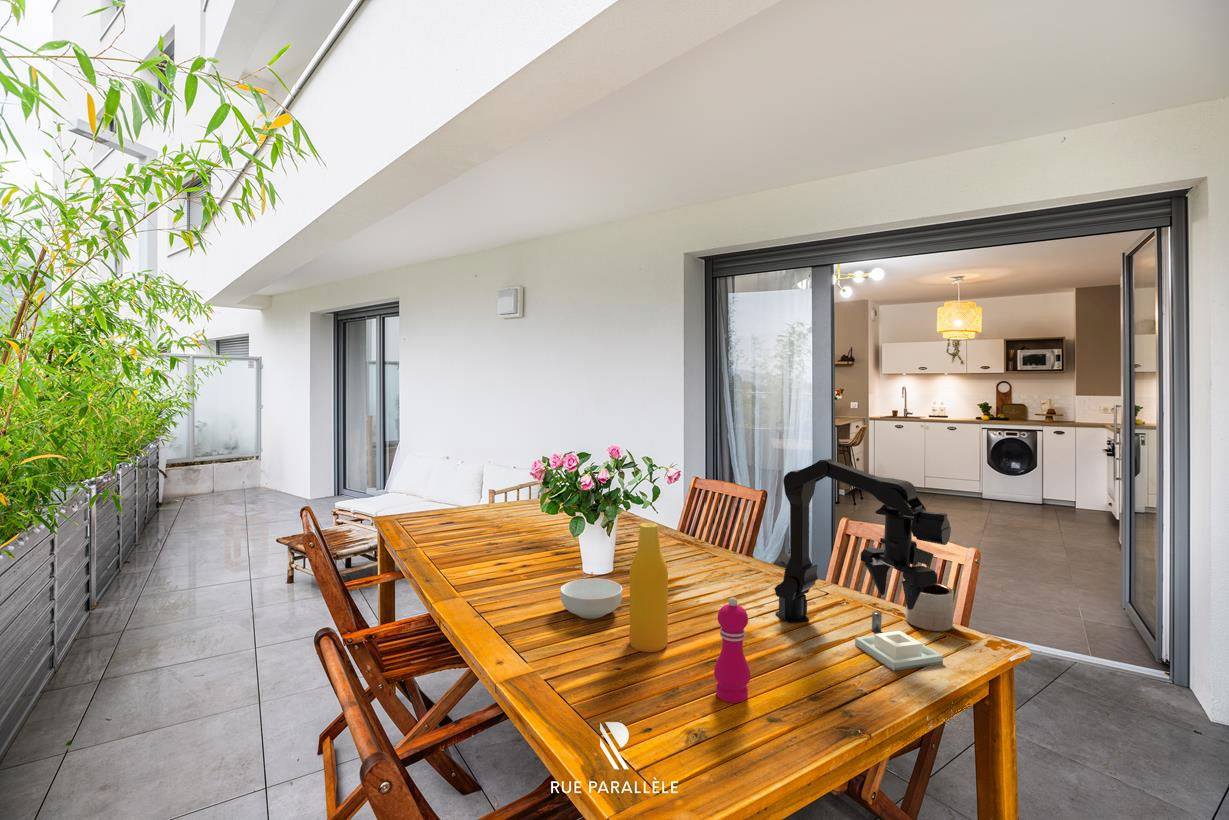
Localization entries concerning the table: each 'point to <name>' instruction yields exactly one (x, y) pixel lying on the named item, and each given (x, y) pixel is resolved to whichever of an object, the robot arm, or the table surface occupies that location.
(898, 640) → the white block
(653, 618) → the beer bottle
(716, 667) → the pepper mill
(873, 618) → the post
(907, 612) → the planter
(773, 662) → the table surface
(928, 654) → the tray
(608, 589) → the cereal bowl
